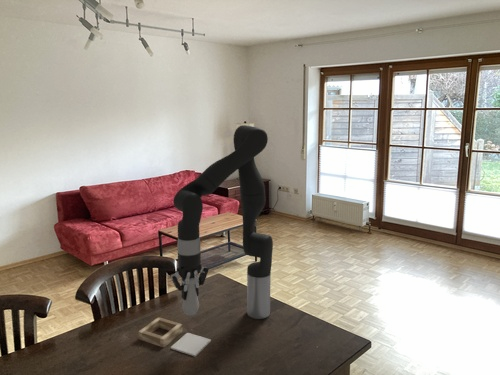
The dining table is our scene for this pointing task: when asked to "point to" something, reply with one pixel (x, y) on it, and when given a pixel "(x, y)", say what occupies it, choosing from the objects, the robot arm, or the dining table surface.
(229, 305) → the dining table surface
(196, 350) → the felt pad
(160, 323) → the oak collar
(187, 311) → the salt shaker
